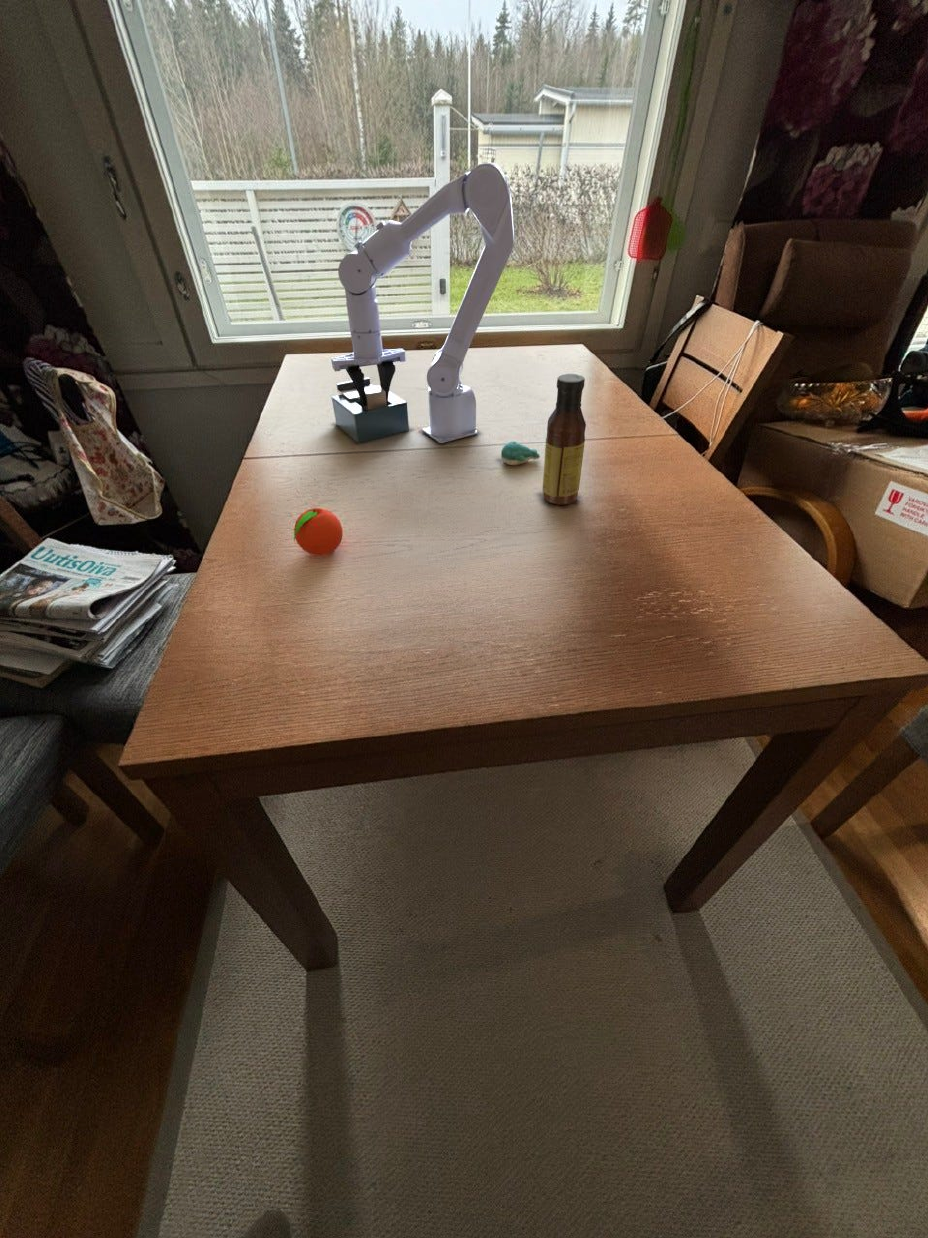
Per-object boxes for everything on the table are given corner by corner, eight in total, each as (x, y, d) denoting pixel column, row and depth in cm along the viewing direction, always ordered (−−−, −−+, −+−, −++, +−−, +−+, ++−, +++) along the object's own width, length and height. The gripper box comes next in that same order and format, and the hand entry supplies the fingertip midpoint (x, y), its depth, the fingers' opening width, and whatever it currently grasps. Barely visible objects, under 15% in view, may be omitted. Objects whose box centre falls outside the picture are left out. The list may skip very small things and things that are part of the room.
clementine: (319, 574, 72) (308, 532, 67) (284, 559, 75) (272, 517, 70) (355, 547, 77) (348, 506, 72) (322, 533, 80) (313, 493, 75)
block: (381, 404, 108) (379, 385, 105) (387, 410, 105) (385, 391, 102) (363, 407, 106) (360, 387, 104) (369, 414, 104) (366, 394, 101)
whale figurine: (498, 455, 100) (499, 436, 98) (534, 453, 101) (536, 434, 98) (503, 468, 96) (504, 449, 93) (541, 466, 97) (543, 447, 94)
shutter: (369, 385, 113) (368, 377, 112) (382, 393, 109) (381, 385, 108) (337, 391, 110) (336, 383, 109) (349, 400, 106) (348, 392, 105)
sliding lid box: (384, 412, 117) (381, 385, 113) (409, 430, 109) (407, 402, 105) (336, 424, 112) (331, 396, 108) (358, 443, 105) (354, 414, 101)
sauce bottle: (579, 492, 89) (600, 373, 76) (573, 509, 85) (593, 386, 71) (543, 486, 91) (557, 368, 77) (535, 503, 87) (548, 381, 73)
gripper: (333, 339, 91) (345, 414, 100) (408, 329, 95) (413, 403, 104) (323, 329, 95) (336, 403, 105) (395, 321, 100) (402, 392, 109)
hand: (374, 402), depth 105 cm, fingers closed on block, 4 cm apart
